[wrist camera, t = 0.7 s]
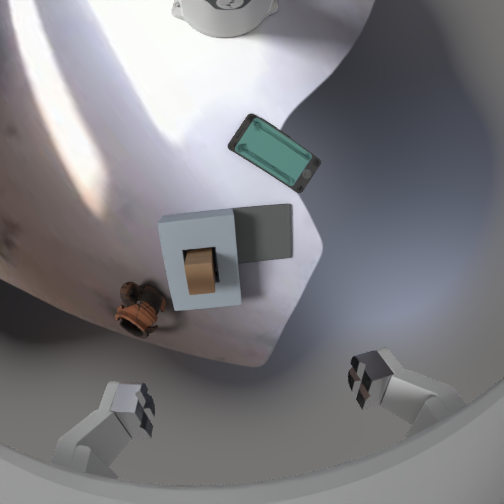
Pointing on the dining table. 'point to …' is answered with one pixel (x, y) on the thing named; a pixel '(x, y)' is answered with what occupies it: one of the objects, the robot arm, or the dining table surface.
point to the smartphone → (274, 152)
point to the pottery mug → (139, 309)
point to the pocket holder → (201, 236)
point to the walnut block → (200, 271)
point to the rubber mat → (262, 232)
